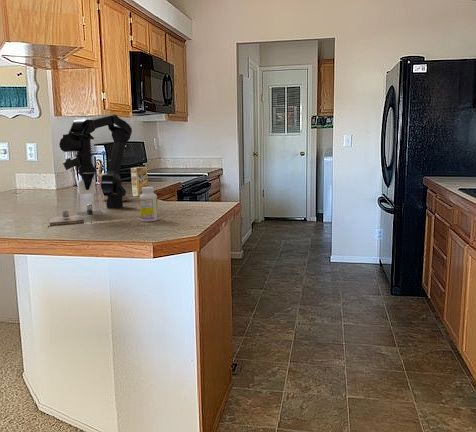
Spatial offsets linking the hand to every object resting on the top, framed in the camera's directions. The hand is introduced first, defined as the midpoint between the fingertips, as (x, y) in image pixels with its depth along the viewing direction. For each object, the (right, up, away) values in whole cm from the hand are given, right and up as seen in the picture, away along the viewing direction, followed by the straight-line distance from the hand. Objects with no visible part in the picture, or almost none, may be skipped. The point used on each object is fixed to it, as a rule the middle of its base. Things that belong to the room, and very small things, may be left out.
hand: (86, 189), depth 197 cm
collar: (0, -2, 0) cm, 2 cm away
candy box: (+9, 0, +66) cm, 66 cm away
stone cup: (-1, -4, +45) cm, 45 cm away
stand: (0, -11, +3) cm, 11 cm away
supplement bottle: (+28, -13, -12) cm, 33 cm away
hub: (-4, -14, -13) cm, 19 cm away
